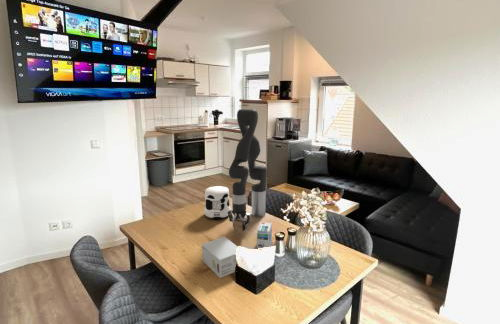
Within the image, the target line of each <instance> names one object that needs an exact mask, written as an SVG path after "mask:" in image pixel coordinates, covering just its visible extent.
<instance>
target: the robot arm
mask: <svg viewBox="0 0 500 324" xmlns="http://www.w3.org/2000/svg"><path fill="white" fill-rule="evenodd" d="M258 120H259V113H258V111H257V109H252V108H251V109H250V108H241V109H238V110H237V112H236V121H237V124H238V127H239V131H240V134H241V139H240V140H239V141H238V143H237V146H236V149H235V153H234V154H235V155H234V157H233V161H232V163H231V165H230V167H229V169H228V176H229V177H230V178H231V179H235V180H237V179H238V180H240V181H236V182H233V183H232V197H231V198H232V199H231V201H232V209H231V210H229V211H228V216H227V217H228V219H229V222H232V228H233V229H234V223H233V220H236V219H238V218H239V219H241V221H243V231H244V232H245V231H246V230H247V225H249V223H251V218H252V216H253V217H256V218H259V217H261V218H263V217H265V216H266V209H267V208H266V204H267V203H266V199H267V196H266V195H267V177H268V170H267V167H266V166H264V165H263V166H262V165H261V166H260V165H256V163H255V162H256V161H257V159H258V157H259V155H260V154H261V145H260V141H259V139H258V137H256V135H255V132H256V128H257V125H258ZM246 162H247V165H248V167H247V166H246V165H241V164H242V163H243V164H244V163H246ZM249 177H250V179H251V180H255V181H259V182H258V183H254V184H252V186H251V213H248V212H247V194H246V193H247V192H246V191H247V190H246V187H247V186H246V185H247V181H248V178H249Z"/></svg>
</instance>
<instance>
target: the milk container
mask: <svg viewBox="0 0 500 324" xmlns="http://www.w3.org/2000/svg"><path fill="white" fill-rule="evenodd" d="M204 191H205V192H204V201H205V203H204V208H203V211H204V215H205V216H206V218H208V219H212V220H213V219H214V220H220V219H224V218H226V217H229V216H228V211H229V210H232V209H231V204H230V190H229V188H228V187H226V186H221V185H217V186H215V185H214V186H209V187H207V188H206V189H205V190H204Z"/></svg>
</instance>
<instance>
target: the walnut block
mask: <svg viewBox="0 0 500 324" xmlns="http://www.w3.org/2000/svg"><path fill="white" fill-rule="evenodd" d="M233 223H234V228H233V233H236V234H241V235H242V234H243V233H244V232H245V231H243V221H241V219H239V218H238V219H236V220H233V222H232V224H233Z"/></svg>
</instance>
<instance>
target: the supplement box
mask: <svg viewBox="0 0 500 324" xmlns="http://www.w3.org/2000/svg"><path fill="white" fill-rule="evenodd" d="M237 247H239V246H238V245H236V244H235V243H234V242H232V241H231V240H230V239H229V238H227V237H226V236H221V237H218V238H216V239H213V240H210V241H207V242H204V243H201V253H202V257H201V258H202V262H203V263H204V264H205V265H206V266H207V267H208V268H209V269H211V270H212V272H213V273H214V274H215V275H216V276H217V277H219V279H221V278H223V277H226V276H229V275H230V274H234V273H235V267H236V255H235V250H236V248H237Z"/></svg>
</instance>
